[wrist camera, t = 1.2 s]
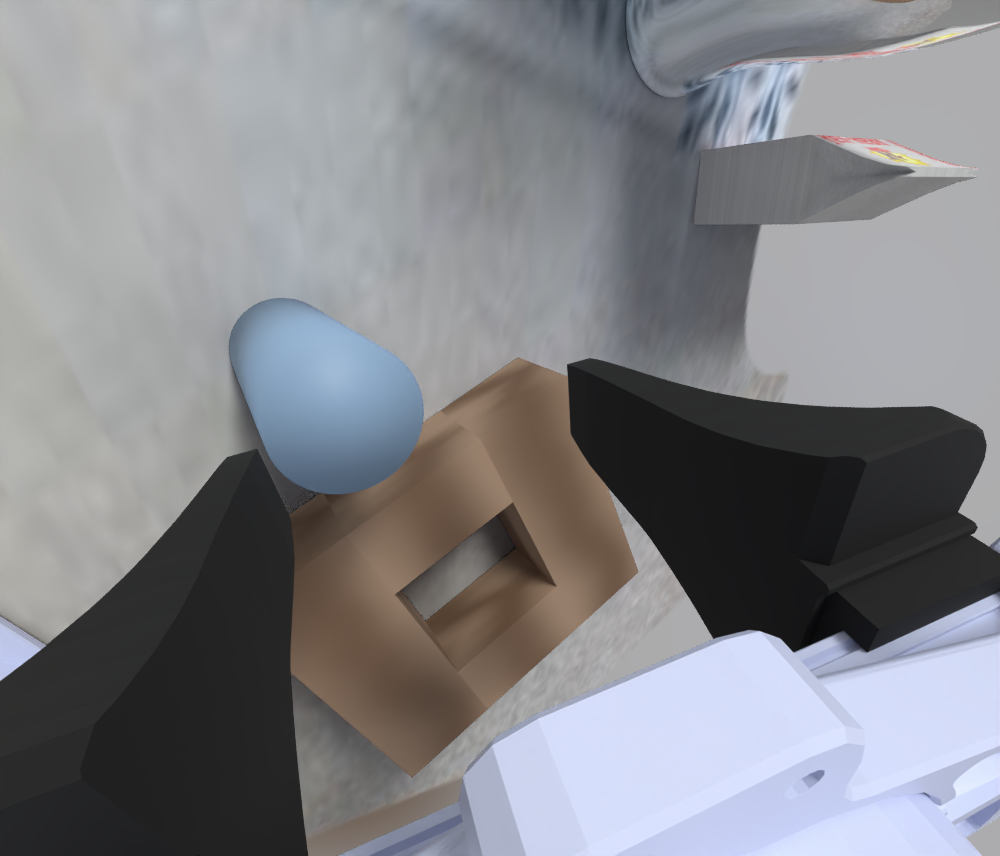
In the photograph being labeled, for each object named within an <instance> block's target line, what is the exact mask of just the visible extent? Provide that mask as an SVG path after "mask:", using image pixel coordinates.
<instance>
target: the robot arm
mask: <svg viewBox="0 0 1000 856" xmlns="http://www.w3.org/2000/svg"><path fill="white" fill-rule="evenodd" d="M567 371H568V391H569V411H570V432H571V436H572V437H573V439H574V441H575V442H576V444H577V446H578V447H579V449H580V451H581V452H582V454H583V456H584V457H585V459H586V460H587V462H588V463H589V465H590V466H591V467H592V469H593V470H594V471H595V472H596V473H597V475H598V476H599V477H600V478H601V480H602V481H603V482H604V483H605V484H606V486H607V487H608V488H609V489H610V490H611V491H612V493H613V494H614V495H615V496H616V497H617V499H618V500H619V501H620V502H621V503H622V504H623V506H624V507H625V508H626V509H627V510H628V512H629V513H630V514H631V515H632V516H633V517H634V519H635V520H636V521H637V522H638V523H639V524H640V526H641V527H642V528H643V530H644V531H645V532H646V533H647V535H648V536H649V537H650V539H651V540H652V541H653V543H654V544H655V546H656V547H657V549H658V550H659V552H660V553H661V555H662V556H663V558H664V559H665V561H666V562H667V564H668V565H669V567H670V568H671V570H672V571H673V573H674V575H675V576H676V578H677V579H678V581H679V583H680V584H681V586H682V587H683V589H684V591H685V592H686V594H687V595H688V597H689V598H690V600H691V602H692V603H693V605H694V607H695V608H696V610H697V612H698V613H699V615H700V617H701V618H702V620H703V622H704V624H705V625H706V627H707V629H708V630H709V632H710V634H711V635H712V637H713V640H710V641H708V642H706V643H704V644H701V645H698V646H696V647H694V648H691V649H689V650H687V651H684V652H682V653H680V654H678V655H675V656H673V657H670V658H668V659H665V660H663V661H661V662H658V663H656V664H653V665H651V666H649V667H646V668H644V669H642V670H640V671H637V672H634V673H632V674H630V675H627V676H625V677H623V678H620V679H618V680H615V681H613V682H611V683H608V684H606V685H604V686H602V687H599V688H596V689H594V690H592V691H589V692H587V693H585V694H582V695H580V696H578V697H575V698H573V699H570V700H568V701H566V702H563V703H561V704H559V705H556V706H554V707H551V708H549V709H547V710H544V711H542V712H540V713H537V714H535V715H533V716H531V717H530V718H528V719H526V720H524V721H523V722H521V723H519V724H518V725H516V726H514V727H512V728H511V729H509V730H507V731H506V732H504V733H502V734H500V735H499V736H497V737H495V738H494V739H493V740H492V741H491V742H490V743H489V745H488V746H487V747H486V748H485V749H484V750H483V751H482V752H481V753H480V754H479V755H478V756H477V757H476V759H475V760H474V761H473V762H472V763H471V764H470V765H469V766H468V768H467V770H466V772H465V774H464V776H463V779H462V785H461V790H460V796H459V802H457V803H455V804H452V805H450V806H448V807H446V808H443V809H441V810H439V811H437V812H434V813H432V814H430V815H428V816H425V817H423V818H421V819H419V820H416V821H414V822H412V823H410V824H407V825H405V826H403V827H401V828H399V829H396V830H394V831H392V832H389V833H387V834H385V835H383V836H380V837H378V838H376V839H374V840H372V841H369V842H367V843H365V844H362V845H360V846H358V847H356V848H353V849H351V850H349V851H347V852H344V853H342V854H340V855H338V856H982V855H981V854H980V853H979V852H978V851H977V850H976V848H974V846H973V845H972V844H971V843H970V842H969V841H968V840H967V839H966V838H967V837H969V836H971V835H972V834H974V833H975V832H977V831H978V830H980V829H981V828H983V827H985V826H986V825H988V824H989V823H991V822H992V821H994V820H995V819H997V818H999V817H1000V538H998V539H997V540H996V541H995V542H994V543H993V544H992V545H991V546H990V547H988V546H987V545H985V544H984V543H982V542H981V541H979V540H977V539H976V538H974V537H973V536H971V534H973V533H975V531H976V530H977V526H976V524H975V522H973V521H972V520H970V519H968V518H967V517H965V516H963V515H962V514H960V513H958V511H959V509H960V507H961V505H962V503H963V501H964V499H965V497H966V495H967V494H968V491H969V490H970V488H971V486H972V484H973V482H974V480H975V478H976V476H977V474H978V473H979V470H980V468H981V466H982V463H983V461H984V458H985V452H986V440H985V437H984V433H983V430H981V429H980V428H979V427H978V426H977V425H975V424H973V423H971V422H969V421H967V420H965V419H963V418H960V417H958V416H956V415H954V414H952V413H950V412H947V411H945V410H943V409H940V408H937V407H933V406H925V407H887V408H886V407H883V408H854V407H853V408H851V407H824V406H809V405H797V404H787V403H777V402H768V401H761V400H753V399H747V398H742V397H736V396H730V395H725V394H719V393H715V392H710V391H706V390H702V389H698V388H694V387H690V386H686V385H682V384H678V383H675V382H671V381H667V380H664V379H661V378H657V377H654V376H651V375H647V374H644V373H641V372H638V371H635V370H632V369H628V368H625V367H622V366H619V365H615V364H612V363H609V362H605V361H601V360H597V359H592V358H589V359H585V360H582V361H578V362H574V363H571V364H567ZM294 569H295V555H294V544H293V534H292V525H291V519H290V516H289V514H288V512H287V510H286V508H285V506H284V504H283V502H282V500H281V498H280V496H279V494H278V491H277V489H276V487H275V485H274V483H273V481H272V479H271V477H270V475H269V473H268V471H267V469H266V466H265V464H264V462H263V460H262V458H261V456H260V454H259V452H258V450H257V449H255V450H252V451H248V452H244V453H241V454H237V455H233V456H230V457H227V458H226V459H225V460H224V461H223V462H222V463H221V465H220V466H219V467H218V468H217V469H216V471H215V472H214V473H213V474H212V476H211V477H210V478H209V480H208V481H207V482H206V483H205V485H204V486H203V487H202V489H201V490H200V491H199V492H198V494H197V495H196V496H195V497H194V499H193V500H192V501H191V502H190V504H189V505H188V506H187V507H186V509H185V510H184V511H183V512H182V514H181V515H180V516H179V517H178V519H177V520H176V521H175V522H174V523H173V524H172V525H171V527H170V528H169V529H168V530H167V531H166V532H165V533H164V534H163V536H162V537H161V538H160V539H159V540H158V541H157V542H156V544H155V545H154V546H153V547H152V548H151V549H150V550H149V551H148V553H147V554H146V555H145V556H144V557H143V558H142V559H141V560H140V561H139V562H138V563H137V564H136V565H135V566H134V567H133V568H132V569H131V571H130V572H129V573H128V574H127V575H126V576H125V577H124V578H123V579H121V580H120V581H119V582H118V583H117V584H116V585H115V586H114V587H113V588H112V589H111V590H110V591H109V592H108V593H107V594H106V595H105V596H103V597H102V598H101V599H100V600H99V601H98V602H97V603H96V604H95V605H94V606H93V607H91V608H90V609H89V610H88V611H87V612H86V613H84V614H83V615H82V616H81V617H80V618H78V619H77V620H76V621H75V622H74V623H72V624H71V625H70V626H69V627H68V628H66V629H65V630H64V631H63V632H62V633H60V634H59V635H58V636H57V637H56V638H54V639H53V640H52V641H51V642H50V643H48V644H47V645H45V644H43V643H41V642H40V641H38V640H37V639H35V638H34V637H32V636H30V635H29V634H27V633H26V632H24V631H23V630H21V629H19V628H18V627H16V626H15V625H13V624H12V623H10V622H8V621H7V620H5V619H4V618H2V617H1V616H0V856H308V851H307V844H306V835H305V828H304V819H303V810H302V800H301V791H300V782H299V772H298V763H297V751H296V739H295V728H294V716H293V701H292V686H291V631H292V611H293V592H294Z"/></svg>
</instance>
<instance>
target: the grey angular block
mask: <svg viewBox="0 0 1000 856" xmlns="http://www.w3.org/2000/svg"><path fill="white" fill-rule="evenodd" d="M978 169H979V168H971V167H962V166H958V165H954V164H951V163H947V162H944V161H940V160H937V159H934V158H932V157H929V156H927V155H924V154H922V153H919V152H917V151H914V150H911V149H909V148H907V147H904V146H901V145H899V144H896V143H894V142H892V141H888V140H876V139H862V138H848V137H835V136H821V135H806V136H799V137H792V138H785V139H778V140H772V141H765V142H758V143H751V144H744V145H737V146H730V147H724V148H717V149H710V150H703V151H701V157H700V167H699V176H698V186H697V195H696V205H695V214H694V224H693V225H736V224H806V223H820V222H821V223H822V222H838V221H853V220H869V219H873V218H875V217H877V216H879V215H881V214H884V213H886V212H888V211H890V210H893V209H895V208H897V207H899V206H902V205H904V204H906V203H908V202H910V201H913V200H915V199H917V198H919V197H921V196H923V195H926V194H928V193H931V192H933V191H936V190H938V189H941V188H944V187H946V186H949V185H951V184H954V183H957V182H961V181H965V180H969V179H973V178H976V177H977V176H975V175H973V174H972V173H971V172H973V171H976V170H978Z"/></svg>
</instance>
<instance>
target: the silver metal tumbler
mask: <svg viewBox="0 0 1000 856" xmlns="http://www.w3.org/2000/svg"><path fill="white" fill-rule="evenodd" d="M997 28H1000V0H627V7H626V33H627V40H628V46H629V50H630V54H631V57H632V60H633V63H634V65H635V68H636V70H637V72H638V74H639V75H640V77H641V79H642V80H643V81H644V83H645V84H646V85H647V86H648V87H649V88H650V89H651V90H652V91H654V92H655V93H657V94H659V95H661V96H664V97H671V98H674V97H680V96H684V95H686V94H689V93H691V92H693V91H695V90H697V89H699V88H701V87H703V86H705V85H707V84H708V83H710V82H712V81H714V80H716V79H718V78H720V77H722V76H725V75H727V74H730V73H733V72H736V71H739V70H742V69H747V68H752V67H757V66H769V65H781V64H802V63H820V62H836V61H849V60H857V59H866V58H875V57H882V56H890V55H894V54H899V53H904V52H909V51H913V50H918V49H923V48H928V47H933V46H936V45H940V44H944V43H947V42H951V41H955V40H959V39H962V38H966V37H970V36H973V35H977V34H981V33H984V32H988V31H991V30H994V29H997Z"/></svg>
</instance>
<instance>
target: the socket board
mask: <svg viewBox="0 0 1000 856" xmlns="http://www.w3.org/2000/svg"><path fill="white" fill-rule="evenodd" d="M496 515H498V516H499V518H500V520H501V522H502V524H503V525H504V527H505V529H506V531H507V533H508V534H509V536H510V538H511V540H512V542H513V544H514V545H515V547H516V548H515V549H514V550H512V551H511V552H510V553H509V554H508V555H506V556H505V557H504V558H503V559H501V560H500V561H499V562H498V563H496V564H495V565H494V566H493V567H492V568H490V569H489V570H488V571H487V572H485V573H484V574H483V575H482V576H481V577H479V578H478V579H477V580H476V581H474V582H473V583H472V584H471V585H469V586H468V587H467V588H466V589H465V590H463V591H462V592H461V593H460V594H458V595H457V596H456V597H455V598H454V599H452V600H451V601H450V602H449V603H447V604H446V605H445V606H444V607H442V608H441V609H440V610H439V611H438V612H436V613H435V614H434V615H433V616H431V617H430V618H429V619H428V620H427V621H425V620H424V618H423V617H422V616H421V615H420V613H419V612H418V611H417V610H416V608H415V607H414V606H413V605H412V603H411V602H410V601H409V600H408V598H407V597H406V596H405V595H404V593H403V592H402V591H401V589H402V588H404V587H405V586H406V585H408V584H409V583H410V582H411V581H413V580H414V579H415V578H417V577H418V576H419V575H420V574H422V573H423V572H424V571H425V570H427V569H428V568H429V567H431V566H432V565H433V564H434V563H436V562H437V561H438V560H440V559H441V558H442V557H443V556H445V555H446V554H447V553H448V552H450V551H451V550H452V549H454V548H455V547H456V546H457V545H459V544H460V543H461V542H463V541H464V540H465V539H466V538H468V537H469V536H470V535H472V534H473V533H474V532H475V531H477V530H478V529H479V528H480V527H482V526H483V525H484V524H486V523H487V522H488V521H489V520H491V519H492V518H493V517H495V516H496ZM289 516H290V519H291V525H292V534H293V544H294V555H295V569H294V592H293V611H292V631H291V674H293V675H294V676H295V677H296V678H297V679H298V680H300V681H301V682H302V683H303V684H304V685H305V686H306V687H308V688H309V689H310V690H311V691H312V692H313V693H315V694H316V695H317V696H318V697H319V698H320V699H322V700H323V701H324V702H325V703H326V704H327V705H328V706H330V707H331V708H332V709H333V710H334V711H335V712H337V713H338V714H339V715H340V716H341V717H342V718H343V719H345V720H346V721H347V722H348V723H349V724H350V725H352V726H353V727H354V728H355V729H356V730H357V731H359V732H360V733H361V734H362V735H363V736H364V737H365V738H367V739H368V740H369V741H370V742H371V743H372V744H374V745H375V746H376V747H377V748H378V749H379V750H381V751H382V752H383V753H384V754H385V755H386V756H387V757H389V758H390V759H391V760H392V761H393V762H394V763H396V764H397V765H398V766H399V767H400V768H401V769H403V770H404V771H405V772H406V773H407V774H408V775H409V776H411V777H413V776H415V775H416V774H417V773H418V772H419V771H420V770H421V769H422V768H423V767H424V766H426V765H427V764H428V763H429V762H430V761H431V760H432V759H433V758H434V757H436V756H437V755H438V754H439V753H440V752H441V751H442V750H443V749H444V748H445V747H447V746H448V745H449V744H450V743H451V742H452V741H453V740H454V739H455V738H456V737H458V736H459V735H460V734H461V733H462V732H463V731H464V730H465V729H466V728H467V727H469V726H470V725H471V724H472V723H473V722H474V721H475V720H476V719H477V718H478V717H480V716H481V715H482V714H483V713H484V712H485V711H486V710H487V709H488V708H489V707H491V706H492V705H493V704H494V703H495V702H496V701H497V700H498V699H499V698H500V697H502V696H503V695H504V694H505V693H506V692H507V691H508V690H509V689H510V688H511V687H513V686H514V685H515V684H516V683H517V682H518V681H519V680H520V679H521V678H522V677H524V676H525V675H526V674H527V673H528V672H529V671H530V670H531V669H532V668H534V667H535V666H536V665H537V664H538V663H539V662H540V661H541V660H542V659H543V658H545V657H546V656H547V655H548V654H549V653H550V652H551V651H552V650H553V649H554V648H556V647H557V646H558V645H559V644H560V643H561V642H562V641H563V640H564V639H565V638H567V637H568V636H569V635H570V634H571V633H572V632H573V631H574V630H575V629H576V628H578V627H579V626H580V625H581V624H582V623H583V622H584V621H585V620H586V619H587V618H589V617H590V616H591V615H592V614H593V613H594V612H595V611H596V610H597V609H598V608H600V607H601V606H602V605H603V604H604V603H605V602H606V601H607V600H608V599H609V598H611V597H612V596H613V595H614V594H615V593H616V592H617V591H618V590H619V589H621V588H622V587H623V586H624V585H625V584H626V583H627V582H628V581H629V580H630V579H632V578H633V577H634V576H635V575H636V574H637V573H638V569H637V566H636V564H635V561H634V558H633V555H632V553H631V550H630V547H629V544H628V542H627V539H626V536H625V534H624V531H623V528H622V525H621V523H620V520H619V517H618V514H617V512H616V509H615V506H614V503H613V501H612V498H611V495H610V493H609V490H608V487H607V486H606V484H605V483H604V482H603V481H602V480H601V478H600V477H599V476H598V475H597V473H596V472H595V471H594V470H593V469H592V467H591V466H590V465H589V463H588V462H587V460H586V459H585V457H584V456H583V454H582V452H581V451H580V449H579V447H578V446H577V444H576V442H575V441H574V439H573V437H572V436H571V432H570V411H569V391H568V378H567V376H565V375H562V374H560V373H557V372H555V371H552V370H549V369H547V368H544V367H542V366H539V365H536V364H534V363H531V362H528V361H526V360H523V359H521V358H517V359H515V360H514V361H512V362H511V363H509V364H508V365H506V366H505V367H503V368H502V369H501V370H499V371H498V372H496V373H495V374H493V375H492V376H490V377H489V378H487V379H486V380H485V381H483V382H482V383H480V384H479V385H477V386H476V387H474V388H473V389H471V390H470V391H468V392H467V393H466V394H464V395H463V396H461V397H460V398H458V399H457V400H455V401H454V402H452V403H451V404H450V405H448V406H447V407H445V408H444V409H442V410H441V411H439V412H438V413H436V414H435V415H433V416H432V417H431V418H429V419H428V420H426V421H425V422H423V425H422V429H421V433H420V436H419V439H418V441H417V443H416V446H415V448H414V450H413V451H412V453H411V454H410V456H409V457H408V459H407V460H406V461H405V462H404V464H403V465H402V466H401V467H400V468H399V469H398V470H397V471H396V472H395V473H393V474H392V475H391V476H389V477H388V478H387V479H385V480H384V481H382V482H380V483H379V484H377V485H374V486H372V487H370V488H367V489H365V490H362V491H358V492H354V493H348V494H324V493H320V494H318V495H317V496H315V497H314V498H312V499H311V500H310V501H308V502H307V503H305V504H304V505H302V506H301V507H299V508H298V509H296V510H295V511H293V512H292V513H291V514H289Z"/></svg>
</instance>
